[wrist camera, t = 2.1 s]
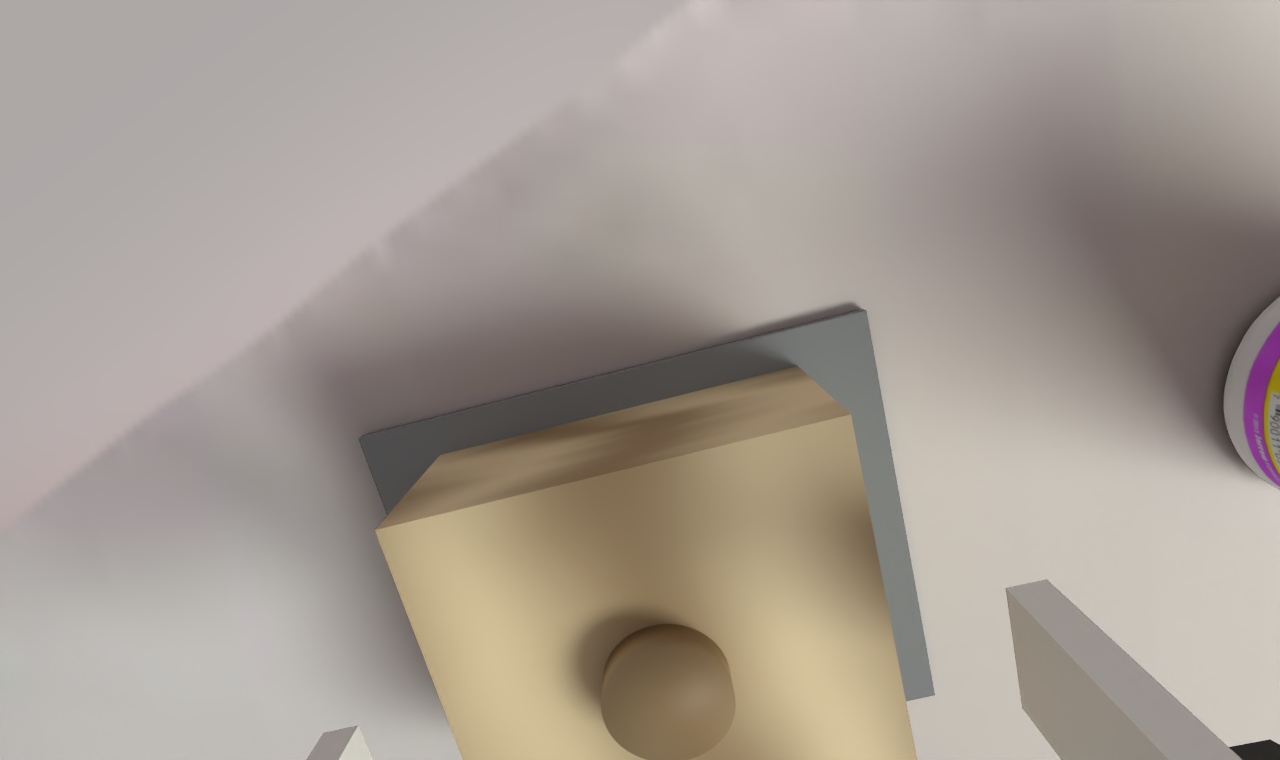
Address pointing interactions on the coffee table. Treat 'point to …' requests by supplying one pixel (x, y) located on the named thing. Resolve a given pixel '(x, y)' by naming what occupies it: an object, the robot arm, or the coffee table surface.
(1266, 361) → the supplement bottle
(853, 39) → the coffee table surface
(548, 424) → the mat
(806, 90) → the coffee table surface
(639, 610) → the lid
